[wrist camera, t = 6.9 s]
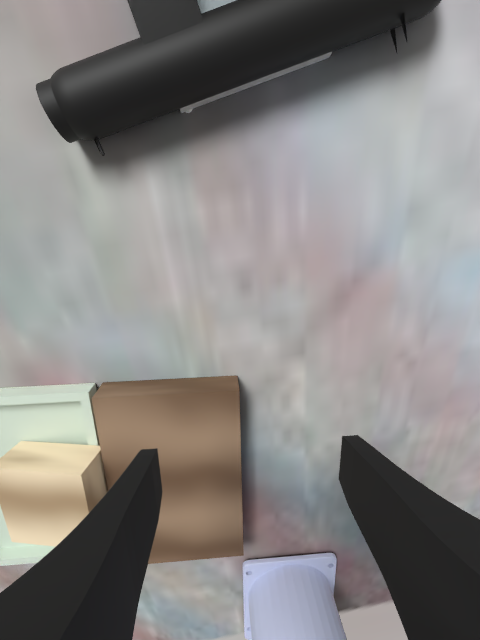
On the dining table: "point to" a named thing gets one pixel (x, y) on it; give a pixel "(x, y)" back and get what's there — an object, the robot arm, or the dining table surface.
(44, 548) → the green tray
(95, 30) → the dining table surface
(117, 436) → the walnut board
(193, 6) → the black toy gun
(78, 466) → the oak tile
